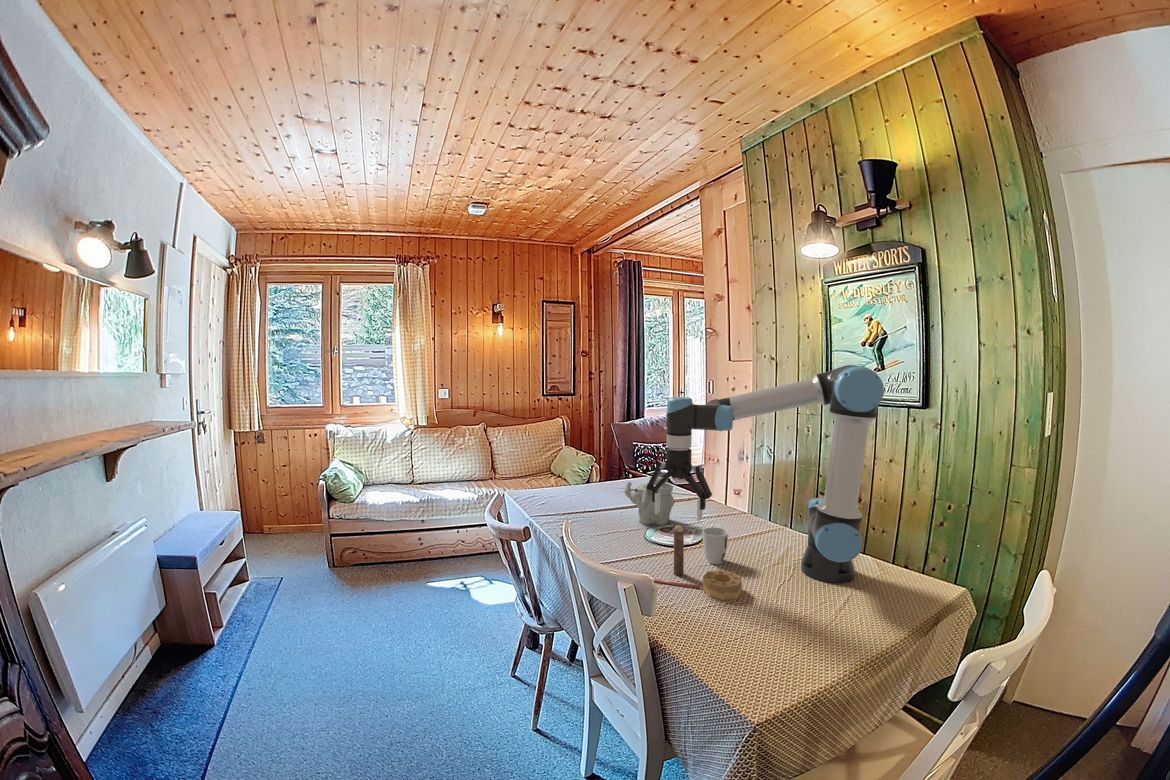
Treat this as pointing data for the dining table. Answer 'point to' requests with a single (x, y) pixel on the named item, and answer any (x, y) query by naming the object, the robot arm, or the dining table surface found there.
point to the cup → (715, 544)
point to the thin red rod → (677, 583)
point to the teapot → (651, 502)
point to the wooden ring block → (722, 585)
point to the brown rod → (678, 551)
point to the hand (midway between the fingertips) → (678, 516)
